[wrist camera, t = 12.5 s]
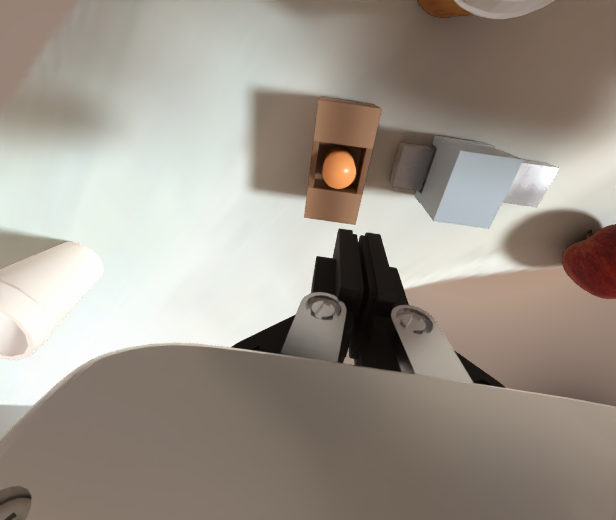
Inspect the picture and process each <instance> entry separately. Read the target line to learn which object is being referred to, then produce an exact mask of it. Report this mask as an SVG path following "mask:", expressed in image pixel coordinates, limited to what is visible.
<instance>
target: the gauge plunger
mask: <svg viewBox="0 0 616 520" xmlns="http://www.w3.org/2000/svg"><path fill="white" fill-rule="evenodd" d="M322 174H323V178H324V181H325V182H326V183H327V184H328V185H329V186H330V187H332V188H335V189H342V188H345V187H347V186H349V185H350V184H351V183H352V182H353V180H354V178H355V175H356V167H355V164H354V160H353V156H352V154H351V153H350V151H349V150H347V149H346V148H343V147H335V148H332V149H331V150H329V151H328V152H327V154H326V155H325V157H324V162H323V171H322Z"/></svg>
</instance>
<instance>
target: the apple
mask: <svg viewBox="0 0 616 520" xmlns="http://www.w3.org/2000/svg"><path fill="white" fill-rule="evenodd" d="M591 233H592V230H590V231H588V232H587V234H586V235H585V237H586V238H587V239H585V240H583V241H580V242H577V243H574V244H572V245H570V246H569V247H568V248H567V249H566V250H565V252H564V253H563V256H562V264H563V267H564V270H565V272H566V273H567V275H568V276H569V277H570V278H571V279H572V280H573V281H574V282H575V283H576V284H577V285H579V286H580V287H581V288H583V289H584V290H586V291H587V292H589V293H591V294H593V295H595V296H597V297H600V298H604V299H616V224H615V225H610V226H607V227H604V228H602V229H600V230H599V231H597V232H596V233H595V234H594V235H592V236H591V237H590V235H591Z"/></svg>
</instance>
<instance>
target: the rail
mask: <svg viewBox="0 0 616 520" xmlns="http://www.w3.org/2000/svg"><path fill="white" fill-rule="evenodd" d="M436 150H437V147H430V146H423V145H416V144H409V143H402V142H400V144H399V148H398V151H397V155H396V159H395V162H394V166H393V170H392V173H391V177H390V183H391V185H392V187H398V188H405V189H412V190H419V191H423V188H424V185H425V182H426V180H427V177H428V174H429V171H430V168H431V165H432V162H433V159H434V156H435V153H436ZM558 170H559V168H558V167H556V166H553V165H550V164H548V163H543V162H536V161H528V160H523V162H522V164H521V166H520V168H519V170H518V172H517V174H516V176H515V178H514V180H513V182H512V184H511V186H510V188H509V190H508V192H507V194H506V196H505V198H504V200H503V203H510V204H517V205H524V206H531V207H537V206H538V205H539V203H540V201H541V199H542V198H543V196H544V194H545V193H546V191H547V189H548V187H549V186H550V184H551V182H552V180H553V179H554V177H555V175H556V174H557V172H558Z"/></svg>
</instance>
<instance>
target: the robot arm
mask: <svg viewBox="0 0 616 520" xmlns="http://www.w3.org/2000/svg"><path fill="white" fill-rule="evenodd" d="M348 348H349V357H350V358H353V359H354V362H355V365H351V364H344V363H343V361H344V358H345V357H346V354H347V351H348ZM0 520H616V407H614V406H609V405H603V404H598V403H593V402H588V401H582V400H577V399H572V398H565V397H559V396H552V395H546V394H540V393H534V392H527V391H521V390H514V389H508V388H505V387H504V386H503V385H502V384H501V383H499V382H498V381H497V380H495V379H494V378H492V377H491V376H490V375H488V374H487V373H485V372H484V371H483V370H481V369H480V368H478V367H477V366H475V365H474V364H472V363H471V362H470V361H468V360H467V359H466V358H464V357H463V356H461V355H460V354H458V353H457V352H456V351H454V350H453V348H452V347H451V345H450V343H449V342H448V340H447V338H446V337H445V335H444V334H443V332H442V330H441V328H440V327H439V325H438V324H437V322H436V321H435V319H434V318H433V317H432V316H431V315H430V314H429V313H427V312H426V311H424V310H422V309H420V308H418V307H415V306H411V305H409V304H408V301H407V299H406V295H405V292H404V289H403V286H402V283H401V279H400V276H399V273H398V270H397V268H394V267H389V264H388V260H387V257H386V253H385V250H384V246H383V243H382V239H381V236H380V234H373V233H366V234H365V236H363V235H361V236H360V238H359V242H358V239H357V235H356V234H353V232H352V230H346V229H339V230H338V234H337V239H336V244H335V249H334V254H333V258H326V257H319V256H317V257H316V262H315V269H314V275H313V282H312V289H311V294H308V295H307V296H305V297H304V298H303V299H302V301H301V303H300V306H299V308H298V310H297V313H296V315H294V316H292V317H290V318H288V319H286V320H283V321H281V322H279V323H277V324H275V325H273V326H271V327H269V328H267V329H265V330H263V331H261V332H259V333H257V334H255V335H253V336H251V337H249V338H246V339H244V340H242V341H240V342H238V343H237V344H235V345H234V346H232V347H222V346H213V345H204V344H193V343H161V344H148V345H142V346H136V347H129V348H125V349H120V350H116V351H113V352H110V353H107V354H103V355H101V356H99V357H97V358H94V359H92V360H90V361H88V362H86V363H85V364H83V365H81V366H80V367H78V368H77V369H75V370H74V371H72V372H71V373H70V374H68V375H67V376H66V377H65V378H63V379H62V380H61V381H60V382H58V383H57V384H56V385H55V386H54V387H53V388H52V389H51V390H50V391H49V392H47V393H46V394H45V395H44V396H43V397H42V398H41V399H40V400H39V401H38V402H36V403H35V404H34V405H33V406H32V407H31V408H30V409H29V410H28V411H27V412H26V413H25V414H24V415H23V416H22V417H21V418H20V419H19V420H18V421H17V422H16V423H15V424H14V425H13V426H12V428H10V429H9V430H8V431H7V433H6V434H5V435H4V436H3V437H2V438H1V439H0Z"/></svg>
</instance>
